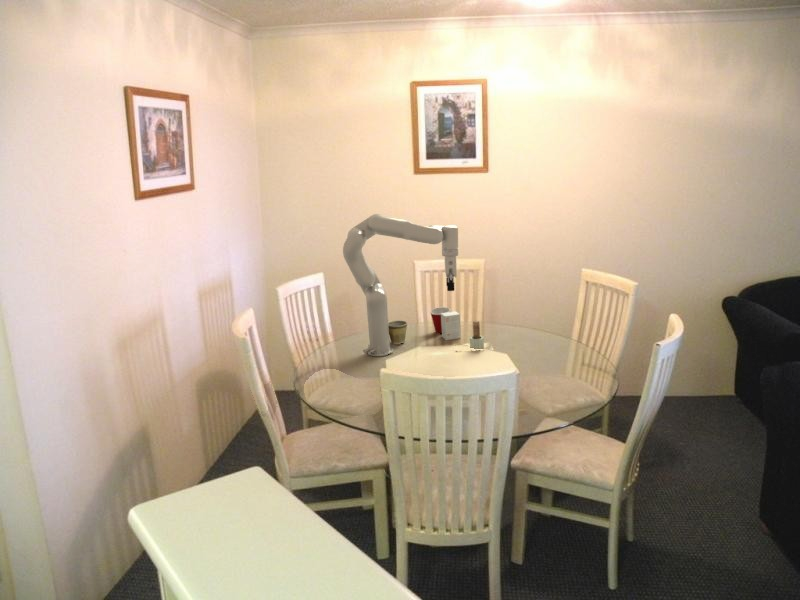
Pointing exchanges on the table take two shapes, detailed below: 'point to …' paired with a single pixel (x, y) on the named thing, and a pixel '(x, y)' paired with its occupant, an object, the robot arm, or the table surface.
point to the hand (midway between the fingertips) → (450, 288)
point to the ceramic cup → (397, 331)
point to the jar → (477, 343)
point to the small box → (450, 325)
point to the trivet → (486, 345)
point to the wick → (476, 330)
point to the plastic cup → (438, 317)
